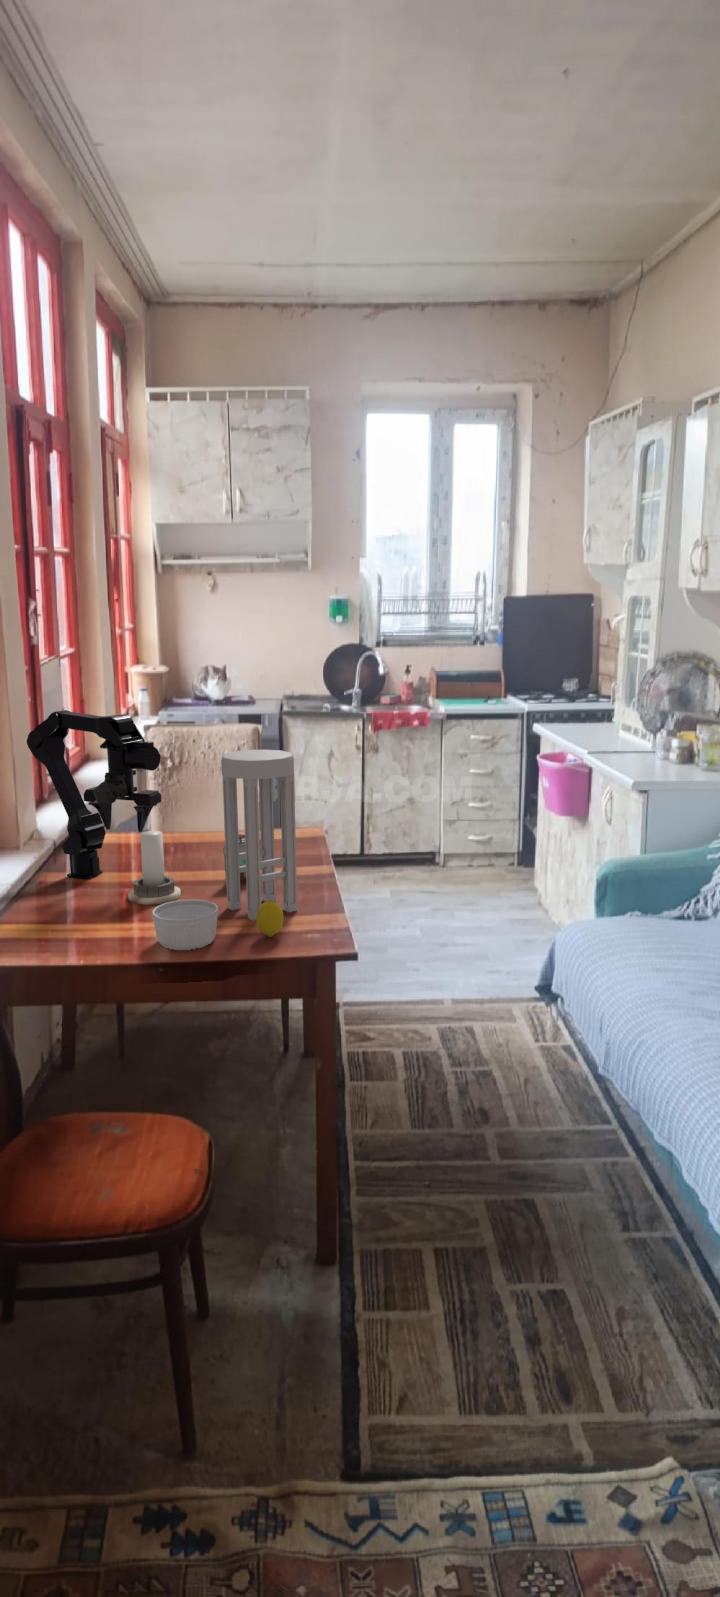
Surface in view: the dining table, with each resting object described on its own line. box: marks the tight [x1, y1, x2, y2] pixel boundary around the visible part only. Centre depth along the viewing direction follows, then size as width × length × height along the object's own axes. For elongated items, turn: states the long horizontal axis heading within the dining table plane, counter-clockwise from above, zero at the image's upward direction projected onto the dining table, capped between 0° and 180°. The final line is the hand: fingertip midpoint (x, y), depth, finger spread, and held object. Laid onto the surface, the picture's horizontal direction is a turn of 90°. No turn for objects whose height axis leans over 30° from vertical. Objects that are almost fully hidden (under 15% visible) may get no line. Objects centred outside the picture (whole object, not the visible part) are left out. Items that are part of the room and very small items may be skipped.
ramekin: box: [151, 899, 219, 951], centre depth 201 cm, size 13×13×7 cm
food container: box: [222, 833, 247, 885], centre depth 244 cm, size 12×6×10 cm, turn 168°
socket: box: [127, 876, 182, 906], centre depth 231 cm, size 12×12×4 cm
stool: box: [220, 749, 298, 921], centre depth 218 cm, size 16×16×35 cm
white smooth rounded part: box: [139, 830, 166, 886], centre depth 230 cm, size 5×5×14 cm
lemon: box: [255, 900, 285, 938], centre depth 202 cm, size 6×6×8 cm
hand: (124, 830), depth 241 cm, fingers open, 9 cm apart
